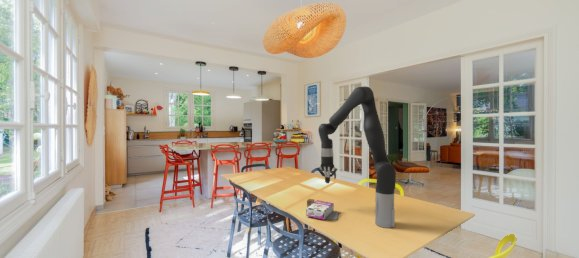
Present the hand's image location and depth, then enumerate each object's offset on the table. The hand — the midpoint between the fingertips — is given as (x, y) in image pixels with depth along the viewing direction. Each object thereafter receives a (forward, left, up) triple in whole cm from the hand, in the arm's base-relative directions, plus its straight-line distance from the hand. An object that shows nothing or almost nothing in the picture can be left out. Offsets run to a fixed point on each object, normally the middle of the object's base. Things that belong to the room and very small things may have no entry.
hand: (327, 183), depth 149 cm
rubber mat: (+1, +9, -17) cm, 19 cm away
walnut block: (+12, -3, -17) cm, 21 cm away
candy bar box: (+1, +2, -14) cm, 14 cm away
